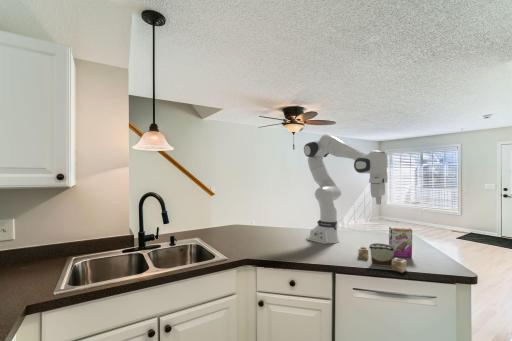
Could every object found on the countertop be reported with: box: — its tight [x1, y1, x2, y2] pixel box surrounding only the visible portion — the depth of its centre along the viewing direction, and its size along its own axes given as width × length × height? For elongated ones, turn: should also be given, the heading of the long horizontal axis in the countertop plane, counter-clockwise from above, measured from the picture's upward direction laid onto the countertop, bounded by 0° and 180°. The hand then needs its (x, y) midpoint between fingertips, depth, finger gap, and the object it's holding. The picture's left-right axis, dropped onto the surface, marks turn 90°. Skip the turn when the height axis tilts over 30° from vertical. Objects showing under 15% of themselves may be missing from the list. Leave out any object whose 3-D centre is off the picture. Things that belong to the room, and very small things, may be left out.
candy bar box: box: [388, 226, 413, 259], centre depth 145 cm, size 11×5×16 cm, turn 77°
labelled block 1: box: [357, 246, 369, 260], centre depth 144 cm, size 5×5×5 cm
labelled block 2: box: [391, 257, 408, 273], centre depth 126 cm, size 5×5×5 cm
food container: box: [368, 243, 395, 268], centre depth 134 cm, size 12×6×10 cm, turn 71°
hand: (378, 204), depth 139 cm, fingers closed
